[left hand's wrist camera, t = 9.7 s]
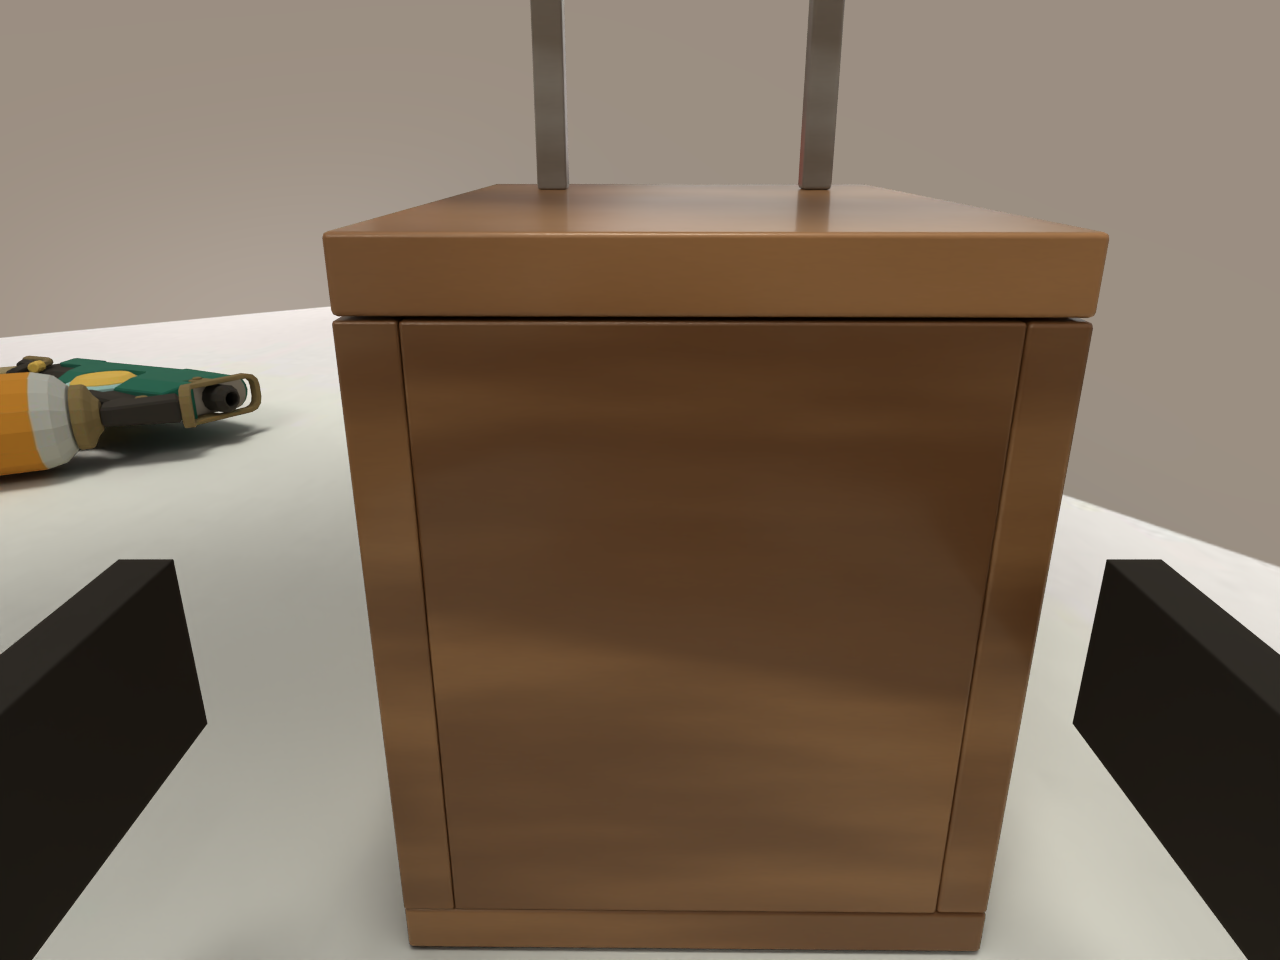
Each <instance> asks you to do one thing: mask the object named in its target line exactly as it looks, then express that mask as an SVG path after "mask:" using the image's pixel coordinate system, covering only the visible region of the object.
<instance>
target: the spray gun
mask: <svg viewBox="0 0 1280 960" xmlns="http://www.w3.org/2000/svg"><path fill="white" fill-rule="evenodd" d="M52 364H53V360H52V359H50V358H48V357H37V356H26V357H24V358H23V360H21V361H20V362H18V363H17V366H13V367H1V368H0V475H8V474H16V473H24V472H31V471H39V470H47V469H51V468H54V467H57V466H60V465H62V464H65V463H68V462H69V461H70V460H71V459H72V458H73V457H74V455H75V454H76V453H77V452H78V451H79V449H81V450H85V449H92V448H95V447H96V445H97V442H98V440H99V437H100V435H101V434H102V433H103V431H104V430H105V427H106V426H127V425H143V424H160V423H176V422H181V421H182V420H183V424H184V427H185V428H192V427H196V425H200V424H204V423H208V422H212V421H216V420H221V419H225V418H229V417H233V416H237V415H241V414H245V413H249V412H253V411H255V410H256V409H258V407H259V405H260V404H261V391H260V385H259V382H258V379H257V378H256V377H255V376H254V375H252V374H244V373H240V374H235V375H226V374H219V373H212V372H205V371H199V370H192V369H173V368H163V367H152V366H142V365H131V364H121V363H110V362H106V361H101V360H90V359H80V358H75V359H71V360H68V361H64V362H61V363H60V364H53V365H52ZM245 378H246V379H247V380H248V381H249V384H250V389H251V395H252V398H251V403H250V404H249V405H248V406H247V407H244V408H240V409H236V408H238V407H240V406H241V405H243V403H244V402H245V400H246V397H247V387H246V384H245V382H244V381H243V379H245ZM235 409H236V410H235ZM218 411H219V412H223V413H214V412H218Z"/></svg>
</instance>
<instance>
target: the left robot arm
mask: <svg viewBox="0 0 1280 960" xmlns="http://www.w3.org/2000/svg"><path fill="white" fill-rule="evenodd" d="M206 725H207V719H206V715H205V710H204V705H203V700H202V695H201V691H200V686H199V681H198V676H197V671H196V667H195V662H194V657H193V652H192V647H191V643H190V638H189V633H188V628H187V623H186V619H185V614H184V609H183V604H182V599H181V594H180V590H179V585H178V580H177V575H176V570H175V566H174V561H173V560H118V561H116V562H115V563H114V564H113V565H111V566H110V567H109V568H108V569H106V570H105V571H104V572H103V573H101V574H100V575H99V576H98V577H96V578H95V579H94V580H93V581H91V582H90V583H89V584H88V585H86V586H85V587H84V588H83V589H81V590H80V591H79V592H78V593H76V594H75V595H74V596H73V597H72V598H70V599H69V600H68V601H67V602H65V603H64V604H63V605H62V606H60V607H59V608H58V609H57V610H55V611H54V612H53V613H52V614H50V615H49V616H48V617H47V618H45V619H44V620H43V621H42V622H40V623H39V624H38V625H37V626H35V627H34V628H33V629H32V630H30V631H29V632H28V633H27V634H25V635H24V636H23V637H22V638H21V639H19V640H18V641H17V642H16V643H14V644H13V645H12V646H11V647H9V648H8V649H7V650H6V651H4V652H3V653H2V654H1V655H0V960H32V959H33V958H34V956H35V955H36V954H37V952H38V951H39V950H40V948H41V947H42V946H43V944H44V943H45V942H46V940H47V939H48V938H49V936H50V935H51V934H52V932H53V931H54V929H55V928H56V927H57V925H58V924H59V923H60V921H61V920H62V919H63V917H64V916H65V915H66V913H67V912H68V911H69V909H70V908H71V907H72V905H73V904H74V903H75V901H76V900H77V898H78V897H79V896H80V894H81V893H82V892H83V890H84V889H85V888H86V886H87V885H88V884H89V882H90V881H91V880H92V878H93V877H94V876H95V874H96V873H97V872H98V870H99V869H100V867H101V866H102V865H103V863H104V862H105V861H106V859H107V858H108V857H109V855H110V854H111V853H112V851H113V850H114V849H115V847H116V846H117V845H118V843H119V842H120V841H121V839H122V838H123V836H124V835H125V834H126V832H127V831H128V830H129V828H130V827H131V826H132V824H133V823H134V822H135V820H136V819H137V818H138V816H139V815H140V814H141V812H142V811H143V810H144V808H145V807H146V805H147V804H148V803H149V801H150V800H151V799H152V797H153V796H154V795H155V793H156V792H157V791H158V789H159V788H160V787H161V785H162V784H163V783H164V781H165V780H166V779H167V777H168V776H169V774H170V773H171V772H172V770H173V769H174V768H175V766H176V765H177V764H178V762H179V761H180V760H181V758H182V757H183V756H184V754H185V753H186V752H187V750H188V749H189V748H190V746H191V745H192V743H193V742H194V741H195V739H196V738H197V737H198V735H199V734H200V733H201V731H202V730H203V729H204V727H205V726H206ZM1073 725H1074V726H1075V727H1076V729H1077V730H1078V731H1079V733H1080V734H1081V735H1082V737H1083V738H1084V739H1085V741H1086V742H1087V743H1088V745H1089V746H1090V748H1091V749H1092V750H1093V752H1094V753H1095V754H1096V756H1097V757H1098V758H1099V760H1100V761H1101V762H1102V764H1103V765H1104V766H1105V768H1106V769H1107V770H1108V772H1109V773H1110V774H1111V776H1112V777H1113V779H1114V780H1115V781H1116V783H1117V784H1118V785H1119V787H1120V788H1121V789H1122V791H1123V792H1124V793H1125V795H1126V796H1127V797H1128V799H1129V800H1130V801H1131V803H1132V804H1133V805H1134V807H1135V808H1136V810H1137V811H1138V812H1139V814H1140V815H1141V816H1142V818H1143V819H1144V820H1145V822H1146V823H1147V824H1148V826H1149V827H1150V828H1151V830H1152V831H1153V832H1154V834H1155V835H1156V836H1157V838H1158V839H1159V841H1160V842H1161V843H1162V845H1163V846H1164V847H1165V849H1166V850H1167V851H1168V853H1169V854H1170V855H1171V857H1172V858H1173V859H1174V861H1175V862H1176V863H1177V865H1178V866H1179V867H1180V869H1181V870H1182V872H1183V873H1184V874H1185V876H1186V877H1187V878H1188V880H1189V881H1190V882H1191V884H1192V885H1193V886H1194V888H1195V889H1196V890H1197V892H1198V893H1199V894H1200V896H1201V897H1202V898H1203V900H1204V901H1205V903H1206V904H1207V905H1208V907H1209V908H1210V909H1211V911H1212V912H1213V913H1214V915H1215V916H1216V917H1217V919H1218V920H1219V921H1220V923H1221V924H1222V925H1223V927H1224V928H1225V929H1226V931H1227V932H1228V934H1229V935H1230V936H1231V938H1232V939H1233V940H1234V942H1235V943H1236V944H1237V946H1238V947H1239V948H1240V950H1241V951H1242V952H1243V954H1244V955H1245V956H1246V958H1247V959H1248V960H1280V655H1279V654H1278V653H1277V652H1276V651H1274V650H1273V649H1272V648H1271V647H1269V646H1268V645H1267V644H1266V643H1264V642H1263V641H1262V640H1261V639H1259V638H1258V637H1257V636H1256V635H1254V634H1253V633H1252V632H1251V631H1250V630H1248V629H1247V628H1246V627H1245V626H1243V625H1242V624H1241V623H1240V622H1238V621H1237V620H1236V619H1235V618H1233V617H1232V616H1231V615H1230V614H1228V613H1227V612H1226V611H1225V610H1223V609H1222V608H1221V607H1220V606H1218V605H1217V604H1216V603H1215V602H1213V601H1212V600H1211V599H1210V598H1208V597H1207V596H1206V595H1205V594H1204V593H1202V592H1201V591H1200V590H1199V589H1197V588H1196V587H1195V586H1194V585H1192V584H1191V583H1190V582H1189V581H1187V580H1186V579H1185V578H1184V577H1182V576H1181V575H1180V574H1179V573H1177V572H1176V571H1175V570H1174V569H1172V568H1171V567H1170V566H1169V565H1167V564H1166V563H1165V562H1164V561H1162V560H1107V561H1106V566H1105V570H1104V575H1103V580H1102V585H1101V590H1100V594H1099V599H1098V604H1097V609H1096V614H1095V618H1094V623H1093V628H1092V633H1091V638H1090V643H1089V647H1088V652H1087V657H1086V662H1085V667H1084V671H1083V676H1082V681H1081V686H1080V691H1079V695H1078V700H1077V705H1076V710H1075V715H1074V719H1073Z"/></svg>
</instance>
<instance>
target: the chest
mask: <svg viewBox="0 0 1280 960" xmlns="http://www.w3.org/2000/svg"><path fill="white" fill-rule="evenodd" d="M332 327H333V335H334V343H335V351H336V359H337V367H338V375H339V383H340V391H341V399H342V407H343V415H344V424H345V432H346V440H347V448H348V456H349V464H350V472H351V480H352V488H353V496H354V504H355V512H356V521H357V529H358V537H359V545H360V553H361V561H362V569H363V577H364V585H365V593H366V601H367V609H368V618H369V626H370V634H371V642H372V650H373V658H374V666H375V674H376V682H377V690H378V698H379V706H380V715H381V723H382V731H383V739H384V747H385V755H386V763H387V771H388V779H389V787H390V795H391V803H392V812H393V820H394V828H395V836H396V844H397V852H398V860H399V868H400V876H401V884H402V892H403V900H404V907H405V908H406V909H405V912H406V920H407V928H408V936H409V943H410V945H412V946H473V947H585V948H697V949H809V950H920V951H977V950H979V949H980V943H981V938H982V932H983V927H984V921H985V911H986V910H987V904H988V899H989V893H990V888H991V882H992V877H993V871H994V866H995V860H996V855H997V850H998V844H999V839H1000V833H1001V828H1002V822H1003V817H1004V811H1005V806H1006V800H1007V795H1008V789H1009V784H1010V778H1011V773H1012V768H1013V762H1014V757H1015V751H1016V746H1017V740H1018V735H1019V729H1020V724H1021V718H1022V713H1023V707H1024V702H1025V696H1026V691H1027V686H1028V680H1029V675H1030V669H1031V664H1032V658H1033V653H1034V647H1035V642H1036V636H1037V631H1038V625H1039V620H1040V614H1041V609H1042V603H1043V598H1044V593H1045V587H1046V582H1047V576H1048V571H1049V565H1050V560H1051V554H1052V549H1053V543H1054V538H1055V532H1056V527H1057V521H1058V516H1059V511H1060V505H1061V500H1062V494H1063V489H1064V483H1065V478H1066V472H1067V467H1068V461H1069V455H1070V450H1071V445H1072V439H1073V434H1074V429H1075V423H1076V418H1077V412H1078V406H1079V401H1080V396H1081V390H1082V385H1083V379H1084V374H1085V368H1086V363H1087V357H1088V352H1089V346H1090V341H1091V335H1092V330H1093V327H1092V324H1091V323H1089V322H1087V321H1085V320H1082V319H1080V318H913V317H444V316H342V317H340V318H338V319H337V320H335V321H333V323H332Z"/></svg>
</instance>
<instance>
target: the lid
mask: <svg viewBox="0 0 1280 960" xmlns="http://www.w3.org/2000/svg"><path fill="white" fill-rule="evenodd" d="M530 3H531V29H532V53H533V80H534V105H535V131H536V157H537V183H538V184H496V185H492V186H489V187H485V188H481V189H478V190H474V191H471V192H467V193H463V194H460V195H456V196H453V197H449V198H445V199H442V200H439V201H435V202H431V203H428V204H424V205H420V206H417V207H413V208H410V209H406V210H403V211H399V212H395V213H392V214H388V215H385V216H381V217H377V218H374V219H370V220H367V221H363V222H359V223H356V224H353V225H349V226H345V227H341V228H338V229H334V230H331V231H327V232H325V233H324V234H323V238H322V239H323V247H324V254H325V263H326V271H327V279H328V287H329V295H330V303H331V310H332V313H333V314H334V315H336V316H444V317H913V318H1089V317H1092V316H1094V315H1095V313H1096V308H1097V303H1098V297H1099V292H1100V286H1101V281H1102V275H1103V270H1104V264H1105V259H1106V254H1107V248H1108V243H1109V235H1108V234H1106V233H1104V232H1100V231H1095V230H1090V229H1085V228H1080V227H1075V226H1070V225H1065V224H1060V223H1055V222H1050V221H1045V220H1040V219H1035V218H1030V217H1025V216H1020V215H1015V214H1010V213H1005V212H1000V211H995V210H990V209H985V208H980V207H975V206H970V205H965V204H960V203H955V202H950V201H945V200H940V199H935V198H930V197H925V196H920V195H915V194H910V193H905V192H900V191H894V190H890V189H885V188H880V187H875V186H870V185H865V184H831V182H832V169H833V155H834V141H835V127H836V114H837V100H838V86H839V72H840V59H841V45H842V32H843V18H844V4H845V0H810V1H809V17H808V33H807V50H806V67H805V83H804V100H803V116H802V133H801V149H800V166H799V182H798V184H569V167H568V129H567V93H566V55H565V18H564V0H530Z"/></svg>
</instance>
